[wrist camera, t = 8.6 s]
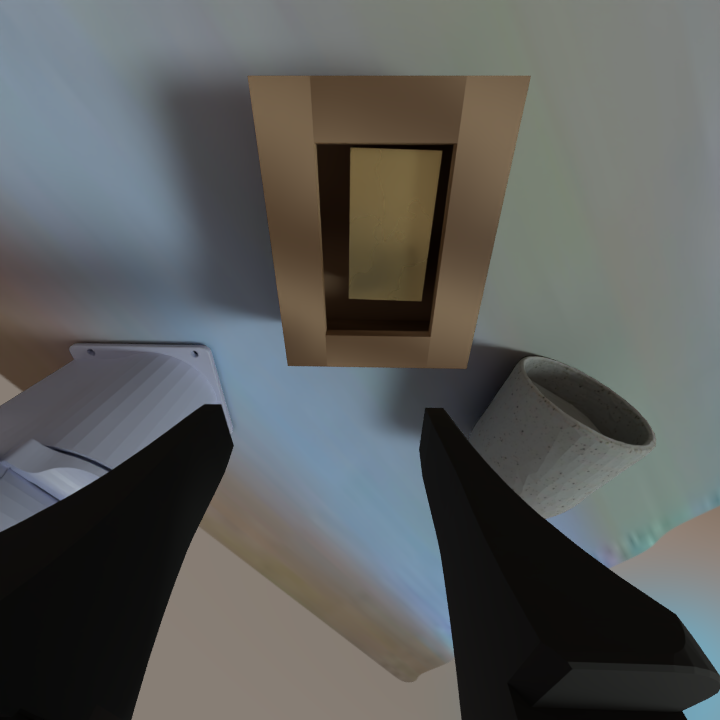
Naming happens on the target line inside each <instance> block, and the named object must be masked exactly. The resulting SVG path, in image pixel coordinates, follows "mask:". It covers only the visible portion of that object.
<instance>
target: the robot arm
mask: <svg viewBox="0 0 720 720" xmlns="http://www.w3.org/2000/svg"><path fill="white" fill-rule="evenodd" d="M69 351H70V353H71V355H72V357H73V358H74V360H73V361H71V362H70V363H68V364H66V365H65V366H63V367H62V368H60V369H58V370H57V371H55V372H54V373H52V374H50V375H49V376H47V377H46V378H44V379H42V380H41V381H39V382H38V383H36V384H34V385H33V386H31V387H30V388H28V389H26V390H25V391H23V392H22V393H20V394H18V395H17V396H15V397H14V398H12V399H11V400H9V401H7V402H6V403H4V404H3V405H1V406H0V720H131V719H132V715H133V712H134V708H135V705H136V701H137V698H138V694H139V691H140V688H141V684H142V681H143V677H144V674H145V671H146V667H147V664H148V661H149V658H150V654H151V651H152V648H153V645H154V642H155V639H156V636H157V633H158V630H159V627H160V624H161V621H162V618H163V615H164V612H165V609H166V606H167V604H168V601H169V598H170V595H171V592H172V589H173V587H174V584H175V581H176V578H177V576H178V573H179V571H180V568H181V565H182V563H183V560H184V558H185V555H186V552H187V550H188V548H189V545H190V543H191V541H192V538H193V536H194V534H195V532H196V530H197V528H198V526H199V524H200V522H201V520H202V518H203V516H204V514H205V512H206V510H207V508H208V506H209V504H210V502H211V500H212V498H213V496H214V494H215V492H216V489H217V487H218V485H219V483H220V481H221V479H222V477H223V475H224V473H225V470H226V467H227V464H228V462H229V459H230V455H231V452H232V449H233V446H234V445H233V442H232V438H231V435H230V434H231V433H232V431H233V426H232V422H231V419H230V415H229V412H228V408H227V405H226V401H225V398H224V394H223V390H222V387H221V383H220V380H219V376H218V373H217V369H216V366H215V362H214V359H213V355H212V352H211V350H210V349H209V348H208V347H207V346H204V345H158V344H93V343H76V344H73V345H72V346H70V347H69ZM194 351H196V352H197V353H198V354H195V353H194ZM419 451H420V460H421V468H422V476H423V481H424V485H425V489H426V494H427V498H428V502H429V506H430V510H431V514H432V519H433V523H434V527H435V531H436V535H437V539H438V544H439V549H440V554H441V560H442V567H443V574H444V580H445V587H446V594H447V602H448V609H449V616H450V624H451V632H452V640H453V648H454V656H455V664H456V672H457V681H458V690H459V700H460V709H461V718H462V720H687V718H686V717H685V715H684V714H683V712H682V711H683V710H685V709H687V708H689V707H691V706H693V705H696V704H697V703H700V702H702V701H704V700H706V699H708V698H710V697H712V696H713V695H715V694H716V693H718V691H719V690H720V675H719V674H718V673H717V671H716V669H715V668H714V667H713V665H712V664H711V662H710V661H709V659H708V658H707V656H706V655H705V654H704V652H703V651H702V649H701V648H700V646H699V645H698V644H697V642H696V641H695V639H694V638H693V636H692V635H691V634H690V632H689V631H688V630H687V628H686V627H685V626H684V624H683V623H682V622H681V621H680V619H679V618H678V617H677V615H676V614H674V613H673V612H671V611H670V610H669V609H667V608H666V607H664V606H662V605H661V604H659V603H658V602H657V601H655V600H653V599H652V598H651V597H649V596H648V595H646V594H645V593H643V592H642V591H640V590H639V589H637V588H636V587H634V586H633V585H631V584H630V583H628V582H627V581H625V580H624V579H622V578H621V577H619V576H618V575H617V574H615V573H614V572H612V571H611V570H610V569H608V568H607V567H606V566H604V565H603V564H602V563H600V562H599V561H598V560H596V559H595V558H593V557H592V556H591V555H589V554H588V553H587V552H585V551H584V550H583V549H581V548H580V547H579V546H578V545H576V544H575V543H574V542H572V541H571V540H570V539H569V538H567V537H566V536H565V535H564V534H563V533H561V532H560V531H559V530H558V529H556V528H555V527H554V526H553V525H552V524H550V523H549V522H548V521H547V520H545V519H544V518H543V517H542V516H541V515H540V514H538V513H537V512H536V511H535V510H534V509H533V508H532V507H530V506H529V505H528V504H527V503H526V502H525V501H524V500H523V499H522V498H521V497H520V496H519V495H518V494H517V493H516V492H515V491H514V490H512V489H511V488H510V487H509V486H508V485H507V483H506V482H505V481H504V480H503V479H502V478H501V477H500V476H499V475H498V474H497V473H496V472H495V471H494V470H493V469H492V468H491V467H490V465H489V464H488V463H487V462H486V461H485V460H484V459H483V458H482V456H481V455H480V454H479V453H478V452H477V450H476V449H475V448H474V447H473V446H472V445H471V443H470V442H469V441H468V440H467V438H466V437H465V436H464V435H463V433H462V432H461V431H460V430H459V428H458V427H457V426H456V424H455V423H454V422H453V420H452V419H451V418H450V416H449V415H448V414H447V412H446V411H445V410H444V409H443V408H425V414H424V421H423V427H422V434H421V441H420V448H419Z"/></svg>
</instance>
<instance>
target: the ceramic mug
mask: <svg viewBox="0 0 720 720" xmlns="http://www.w3.org/2000/svg"><path fill="white" fill-rule="evenodd" d="M468 441H469V442H470V443H471V445H472V446H473V447H474V448H475V449H476V450H477V452H478V453H479V454H480V455H481V456H482V458H483V459H484V460H485V461H486V462H487V463H488V464H489V465H490V467H491V468H492V469H493V470H494V471H495V472H496V473H497V474H498V475H499V476H500V477H501V478H502V479H503V480H504V481H505V482H506V483H507V485H508V486H509V487H510V488H511V489H512V490H514V491H515V492H516V493H517V494H518V495H519V496H520V497H521V498H522V499H523V500H524V501H525V502H526V503H527V504H528V505H529V506H530V507H532V508H533V509H534V510H535V511H536V512H537V513H538V514H540V515H541V516H542V517H543V518H544V519H546V518H550V517H553V516H556V515H559V514H561V513H564V512H566V511H567V510H569V509H571V508H573V507H574V506H576V505H577V504H579V503H580V502H581V501H582V500H583V499H585V498H586V497H587V496H588V495H590V494H591V493H593V492H594V491H596V490H597V489H598V488H600V487H601V486H603V485H604V484H606V483H607V482H609V481H610V480H612V479H613V478H614V477H616V476H617V475H618V474H620V473H621V472H623V471H624V470H626V469H627V468H629V467H630V466H632V465H633V464H635V463H636V462H638V461H639V460H640V459H642V458H643V457H645V456H646V455H647V454H649V453H650V452H651V451H652V450H653V449H654V448H655V445H656V437H655V433H654V432H653V430H652V428H651V426H650V425H649V423H648V422H647V420H646V419H645V418H644V417H642V415H641V414H640V413H639V412H638V411H637V410H636V409H635V408H634V407H633V406H632V405H630V404H629V403H628V402H627V401H626V400H624V399H623V398H622V397H620V396H619V395H618V394H616V393H615V392H614V391H612V390H611V389H610V388H608V387H607V386H605V385H603V384H602V383H600V382H599V381H597V380H596V379H594V378H592V377H590V376H588V375H587V374H585V373H583V372H581V371H579V370H577V369H576V368H573V367H570V366H568V365H565V364H563V363H561V362H558V361H556V360H552V359H549V358H544V357H539V356H528V357H524V358H523V359H521V360H520V361H519V362H518V363H517V365H516V366H515V368H514V369H513V371H512V372H511V374H510V376H509V377H508V379H507V380H506V381H505V383H504V384H503V385H502V387H501V388H500V390H499V391H498V393H497V394H496V396H495V397H494V399H493V400H492V402H491V404H490V405H489V407H488V408H487V409H486V411H485V412H484V414H483V415H482V416H481V418H480V419H479V420H478V422H477V423H476V425H475V426H474V428H473V430H472V432H471V435H470V437H469V439H468Z"/></svg>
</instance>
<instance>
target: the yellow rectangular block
mask: <svg viewBox="0 0 720 720" xmlns="http://www.w3.org/2000/svg"><path fill="white" fill-rule="evenodd" d="M441 158H442V151H437V150H408V149H379V148H350V234H349V299H370V300H397V301H422V293H423V286H424V279H425V272H426V265H427V258H428V251H429V244H430V236H431V229H432V222H433V215H434V208H435V201H436V194H437V187H438V179H439V172H440V165H441Z"/></svg>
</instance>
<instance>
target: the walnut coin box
mask: <svg viewBox="0 0 720 720" xmlns="http://www.w3.org/2000/svg"><path fill="white" fill-rule="evenodd" d="M530 77H531V76H248V82H249V89H250V96H251V103H252V111H253V118H254V125H255V132H256V139H257V147H258V154H259V161H260V168H261V176H262V183H263V190H264V197H265V204H266V212H267V219H268V226H269V233H270V241H271V248H272V255H273V262H274V269H275V277H276V284H277V291H278V298H279V305H280V313H281V320H282V327H283V334H284V342H285V349H286V356H287V363H288V366H329V367H390V368H450V369H466V368H467V364H468V359H469V355H470V350H471V346H472V341H473V337H474V332H475V327H476V323H477V318H478V314H479V309H480V305H481V300H482V296H483V291H484V286H485V282H486V277H487V273H488V268H489V264H490V259H491V255H492V250H493V246H494V241H495V236H496V232H497V227H498V223H499V218H500V214H501V209H502V205H503V200H504V196H505V191H506V186H507V182H508V177H509V173H510V168H511V164H512V159H513V155H514V150H515V146H516V141H517V136H518V132H519V127H520V123H521V118H522V114H523V109H524V105H525V100H526V96H527V91H528V86H529V82H530ZM350 148H379V149H408V150H437V151H442V158H441V165H440V172H439V179H438V187H437V194H436V201H435V208H434V215H433V222H432V229H431V236H430V244H429V251H428V258H427V265H426V272H425V279H424V286H423V293H422V301H397V300H370V299H349V234H350Z"/></svg>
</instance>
